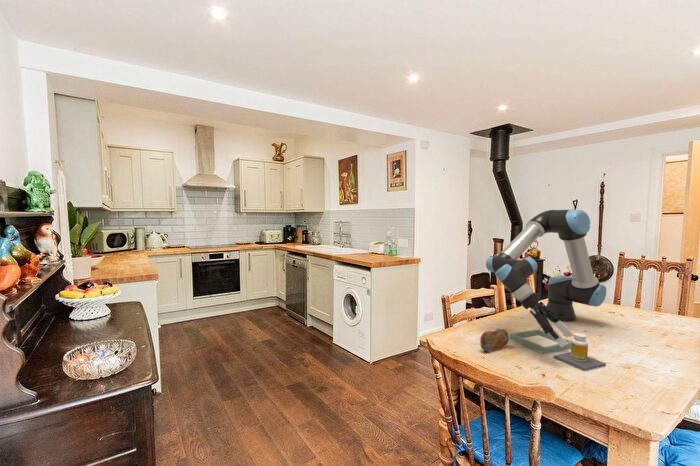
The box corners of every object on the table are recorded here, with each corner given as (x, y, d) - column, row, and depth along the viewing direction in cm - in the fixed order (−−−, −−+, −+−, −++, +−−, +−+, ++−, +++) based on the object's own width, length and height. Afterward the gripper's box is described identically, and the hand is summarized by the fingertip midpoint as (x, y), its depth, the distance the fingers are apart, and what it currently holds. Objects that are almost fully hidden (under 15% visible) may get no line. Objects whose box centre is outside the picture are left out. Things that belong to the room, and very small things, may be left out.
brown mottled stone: (484, 354, 135) (485, 334, 135) (478, 351, 138) (479, 331, 138) (508, 347, 142) (509, 328, 142) (502, 345, 145) (503, 326, 145)
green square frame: (509, 338, 153) (509, 333, 152) (537, 333, 159) (537, 328, 159) (544, 353, 136) (544, 348, 136) (574, 347, 142) (574, 342, 142)
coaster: (553, 357, 132) (553, 355, 132) (574, 353, 136) (574, 351, 136) (584, 371, 121) (584, 368, 121) (605, 365, 125) (605, 363, 125)
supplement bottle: (587, 363, 125) (589, 338, 124) (570, 360, 128) (571, 335, 127) (586, 358, 129) (587, 334, 129) (570, 355, 132) (571, 331, 132)
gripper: (526, 296, 151) (563, 336, 142) (511, 307, 132) (553, 355, 123) (540, 286, 147) (579, 327, 138) (527, 297, 128) (571, 344, 119)
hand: (567, 340), depth 131 cm, fingers open, 13 cm apart
